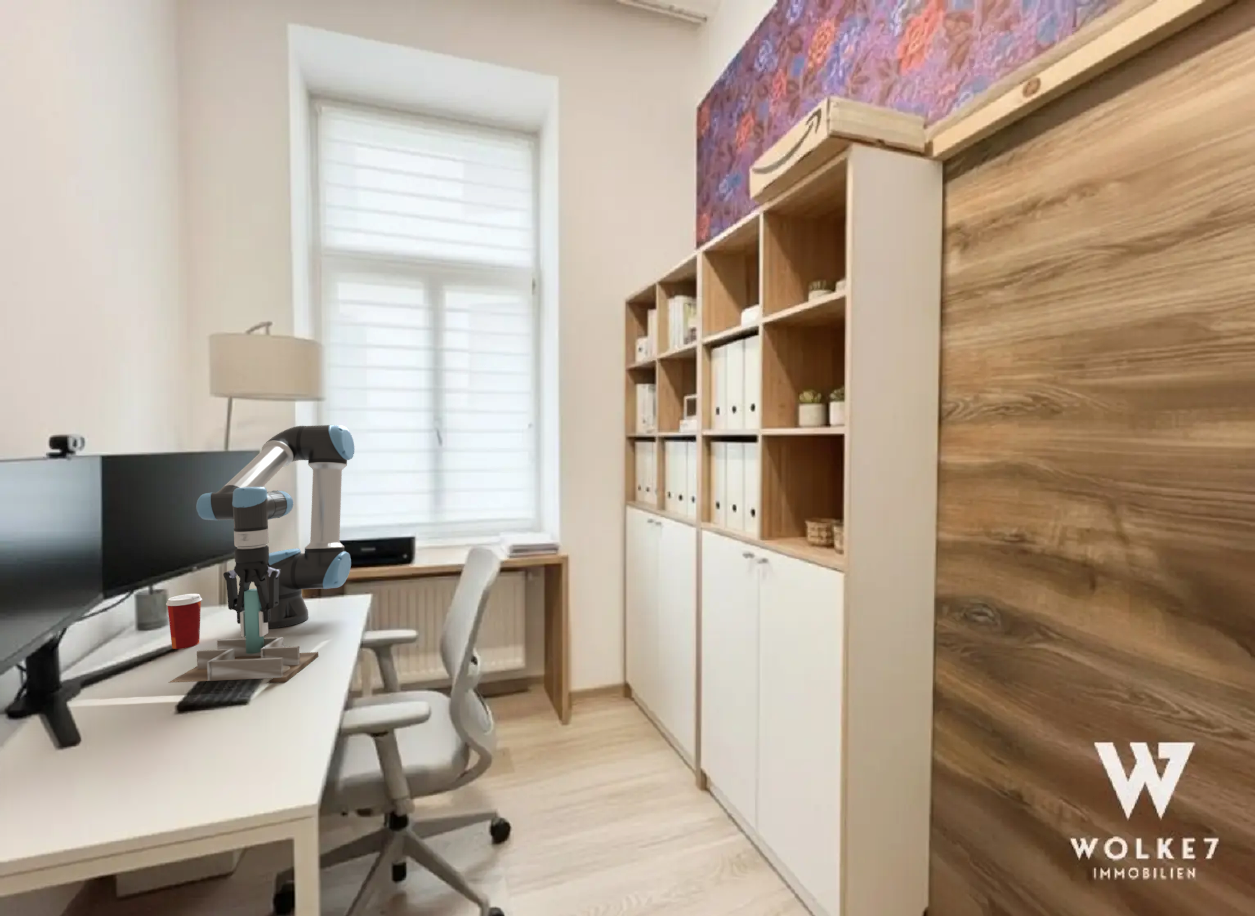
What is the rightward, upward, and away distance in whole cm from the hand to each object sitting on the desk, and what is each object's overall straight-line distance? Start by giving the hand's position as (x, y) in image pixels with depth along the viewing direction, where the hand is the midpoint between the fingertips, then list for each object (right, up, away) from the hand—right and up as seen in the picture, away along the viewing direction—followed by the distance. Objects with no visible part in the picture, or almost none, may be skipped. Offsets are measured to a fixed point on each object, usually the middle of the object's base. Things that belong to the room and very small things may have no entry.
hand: (254, 635), depth 151 cm
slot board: (+1, -8, -4) cm, 9 cm away
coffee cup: (-28, -8, +13) cm, 32 cm away
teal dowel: (0, -4, 0) cm, 4 cm away
